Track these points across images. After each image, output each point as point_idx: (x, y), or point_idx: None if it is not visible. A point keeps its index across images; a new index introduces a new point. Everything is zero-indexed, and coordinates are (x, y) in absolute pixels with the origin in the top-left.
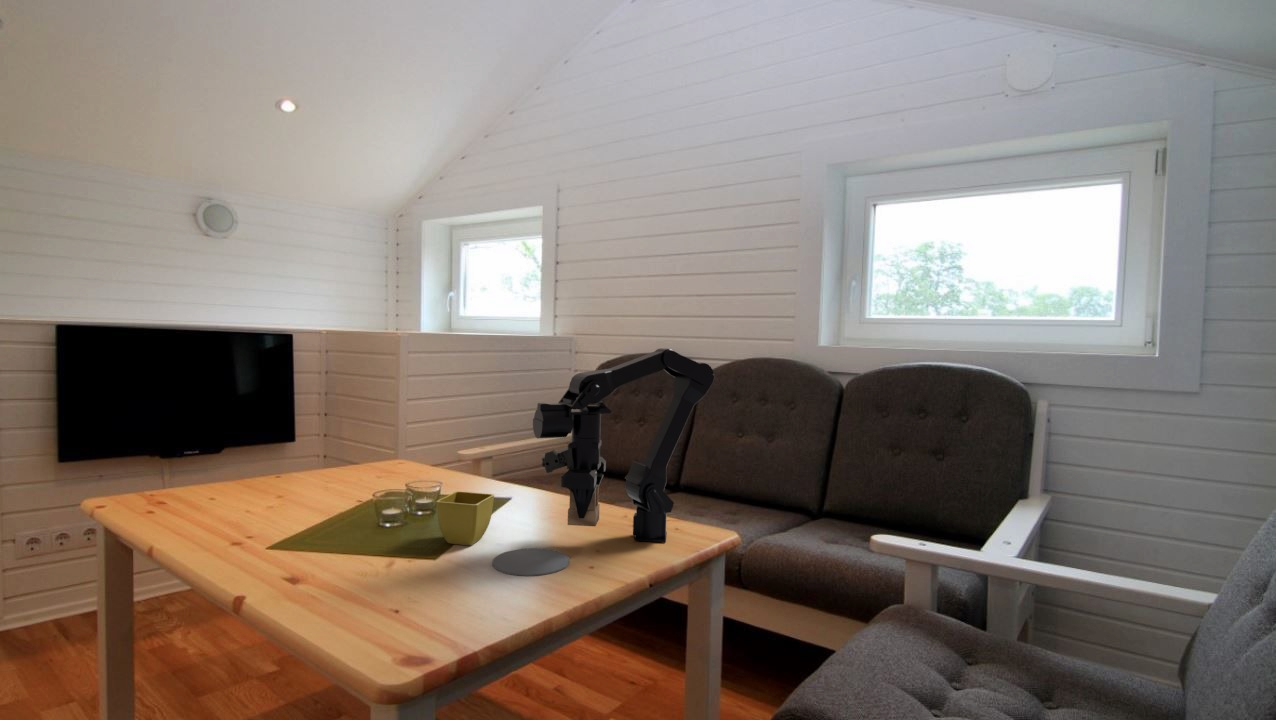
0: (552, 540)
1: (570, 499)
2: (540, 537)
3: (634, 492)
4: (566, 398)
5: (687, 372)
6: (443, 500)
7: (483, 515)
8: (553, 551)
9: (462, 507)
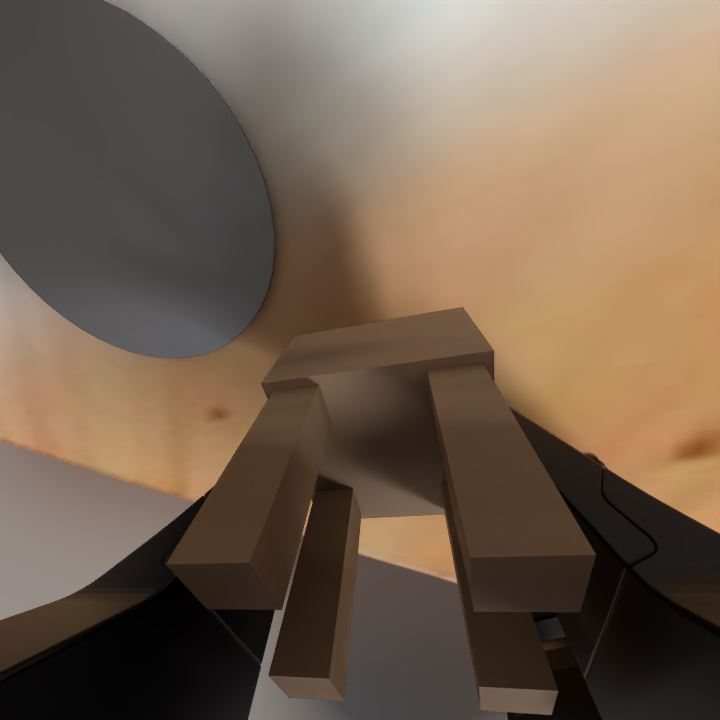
0: (431, 170)
1: (241, 455)
2: (470, 61)
3: (572, 710)
4: None
5: None
6: None
7: None
8: (255, 263)
9: None
